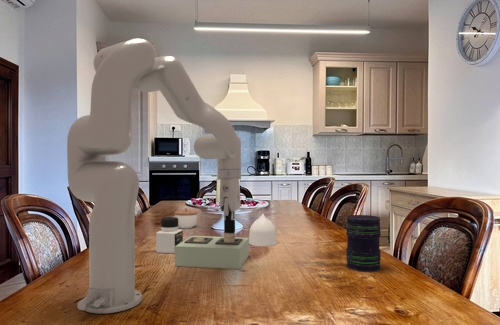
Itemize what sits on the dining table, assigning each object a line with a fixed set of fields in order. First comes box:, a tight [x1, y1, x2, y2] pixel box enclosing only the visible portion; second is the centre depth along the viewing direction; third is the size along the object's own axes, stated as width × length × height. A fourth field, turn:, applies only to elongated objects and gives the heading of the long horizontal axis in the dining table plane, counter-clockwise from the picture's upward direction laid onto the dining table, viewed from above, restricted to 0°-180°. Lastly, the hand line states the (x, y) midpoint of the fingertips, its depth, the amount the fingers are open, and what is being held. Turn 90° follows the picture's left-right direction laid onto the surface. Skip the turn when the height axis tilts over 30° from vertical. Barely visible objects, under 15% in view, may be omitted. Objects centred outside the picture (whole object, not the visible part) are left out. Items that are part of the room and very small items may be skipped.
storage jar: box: [345, 214, 382, 273], centre depth 109 cm, size 10×10×15 cm
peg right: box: [223, 231, 236, 243], centre depth 116 cm, size 4×4×6 cm
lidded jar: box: [174, 207, 198, 230], centre depth 176 cm, size 11×11×9 cm
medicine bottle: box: [155, 216, 184, 254], centre depth 130 cm, size 7×7×12 cm
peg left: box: [193, 238, 205, 242], centre depth 118 cm, size 4×4×6 cm
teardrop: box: [248, 212, 278, 247], centre depth 142 cm, size 11×11×12 cm
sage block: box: [174, 235, 250, 270], centre depth 117 cm, size 16×20×6 cm
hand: (229, 232), depth 116 cm, fingers closed
